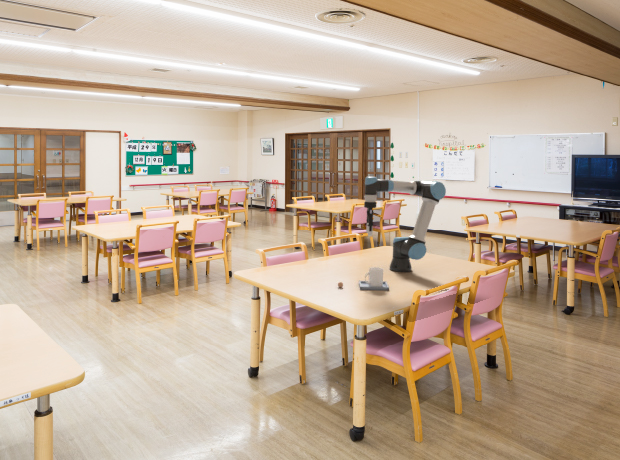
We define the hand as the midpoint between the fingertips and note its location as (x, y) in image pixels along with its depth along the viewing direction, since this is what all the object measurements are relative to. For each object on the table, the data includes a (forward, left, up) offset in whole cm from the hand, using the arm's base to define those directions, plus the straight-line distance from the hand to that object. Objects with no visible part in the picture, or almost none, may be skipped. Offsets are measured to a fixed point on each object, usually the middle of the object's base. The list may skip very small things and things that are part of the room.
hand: (369, 234), depth 310 cm
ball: (+18, +23, -29) cm, 41 cm away
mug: (-2, +21, -28) cm, 35 cm away
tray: (-2, +20, -29) cm, 35 cm away
